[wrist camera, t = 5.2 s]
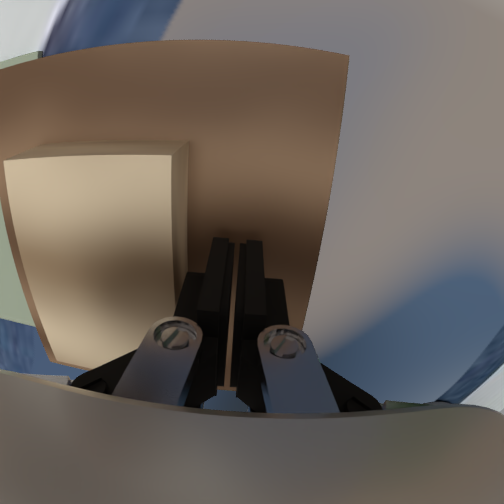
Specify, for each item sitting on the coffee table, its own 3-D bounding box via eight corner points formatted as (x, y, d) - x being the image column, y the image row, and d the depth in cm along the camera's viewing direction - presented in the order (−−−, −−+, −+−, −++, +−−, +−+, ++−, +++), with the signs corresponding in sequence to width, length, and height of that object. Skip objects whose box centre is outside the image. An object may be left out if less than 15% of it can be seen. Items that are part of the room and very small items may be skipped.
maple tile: (190, 342, 15) (182, 383, 12) (76, 326, 14) (56, 360, 12) (188, 140, 10) (171, 155, 8) (42, 144, 10) (3, 160, 8)
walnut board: (281, 342, 20) (286, 392, 16) (74, 320, 19) (50, 361, 16) (324, 63, 12) (349, 55, 9) (41, 68, 12) (-9, 72, 8)
